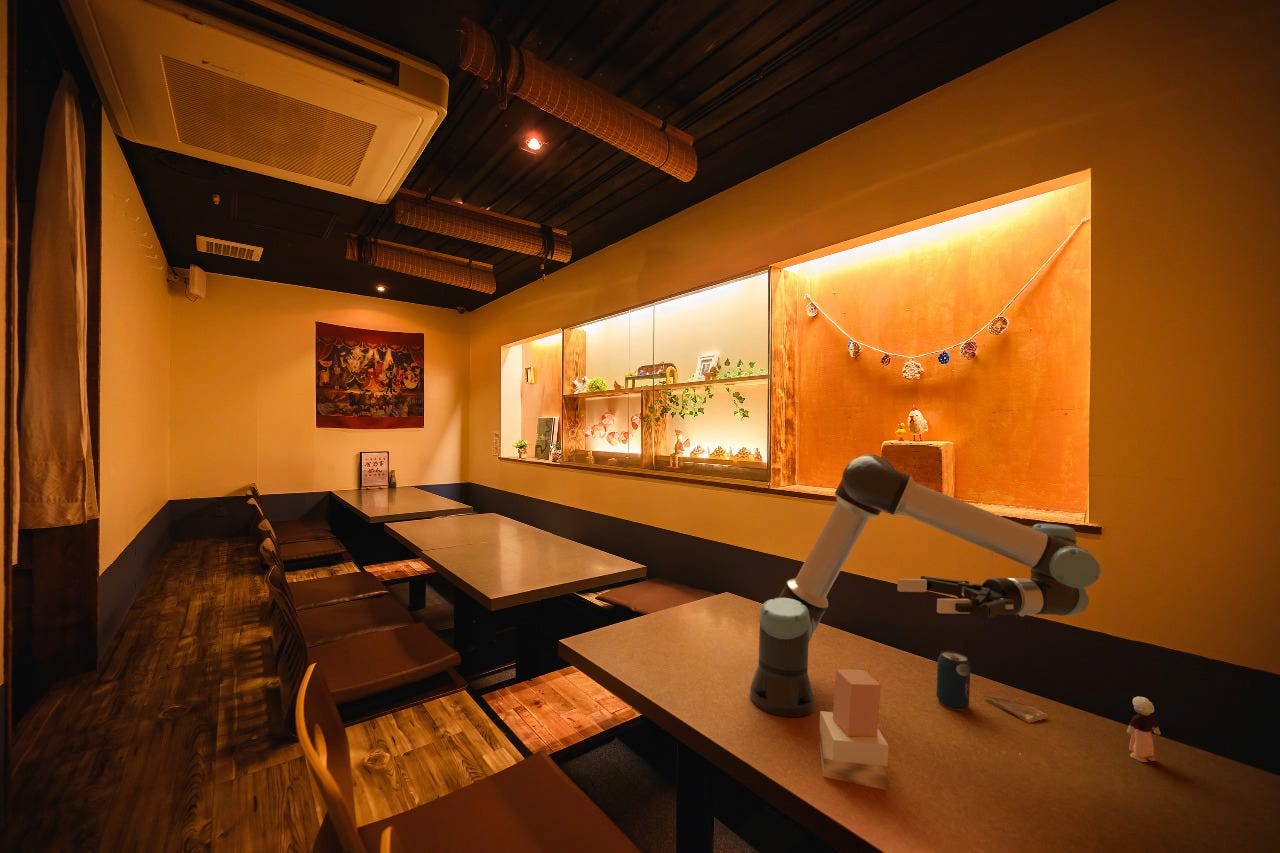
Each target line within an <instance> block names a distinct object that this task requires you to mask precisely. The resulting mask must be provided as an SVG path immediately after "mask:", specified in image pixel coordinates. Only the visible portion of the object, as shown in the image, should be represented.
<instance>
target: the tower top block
mask: <svg viewBox="0 0 1280 853" xmlns="http://www.w3.org/2000/svg"><path fill="white" fill-rule="evenodd" d="M820 732H821V735H822V737H823V739H824V742H825V744H826V746H827V749H828V751H829V753H830V755H831V758H832V760H833V761H838V762H848V763H858V764H868V765H878V766H885V767H889V766H888V765H889V744H888V742H887V740H886V738H884V736H883V735H882V733H881V731H880V729H878V732H877V736H847V735H846V733H845V732H844V731H843V730H842V729H841V728H840V726H839V725H838V724H837V723H836V722H835V720H834V719H833V711H825V710H824V711H823V710H820V711H819V733H820Z"/></svg>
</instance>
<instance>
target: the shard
mask: <svg viewBox="0 0 1280 853" xmlns="http://www.w3.org/2000/svg"><path fill="white" fill-rule="evenodd" d="M983 698H984V699H985V700H984V701H986V702H987V703H990V704H992V705H993V706H996V707H997V708H1000V709H1002V710H1003V711H1005V712H1008V713H1009V712H1010V714H1011V713H1012V714H1011V715H1013V714H1014V716H1015V715H1016V716H1015V717H1017V718H1018V717H1019V718H1018V719H1019V720H1022V721H1023V720H1024V722H1026V723H1027V724H1030V723H1034V722H1037V721H1038V720H1040V721H1043V720H1042V719H1045V720H1046V719H1047V715H1048V714H1047V713H1045V712H1044V711H1041V710H1039V709H1037V708H1035V707H1033V706H1032V705H1028V704H1024V703H1022V702H1021V703H1019V702H1017V701H1012V700H1008V699H1002V698H997V697H992V696H988V695H987V696H986V695H983ZM1038 722H1039V721H1038Z"/></svg>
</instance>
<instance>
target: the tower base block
mask: <svg viewBox="0 0 1280 853" xmlns="http://www.w3.org/2000/svg"><path fill="white" fill-rule="evenodd" d="M819 750H820V760H821V761H820V762H821V770H822V777H823V778H828V779H833V780H837V781H841V782H847V783H851V784H857V785H861V786H865V787H870V788H874V789H880V790H884V791H886V790H887V772H888V771H887V766H878V765H868V764H858V763H848V762H838V761H833V760H832V758H831V755H830V753H829V751H828V749H827V746H826V744H825V742H824V739H823V737H822V735H821V732H820V731H819Z"/></svg>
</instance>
